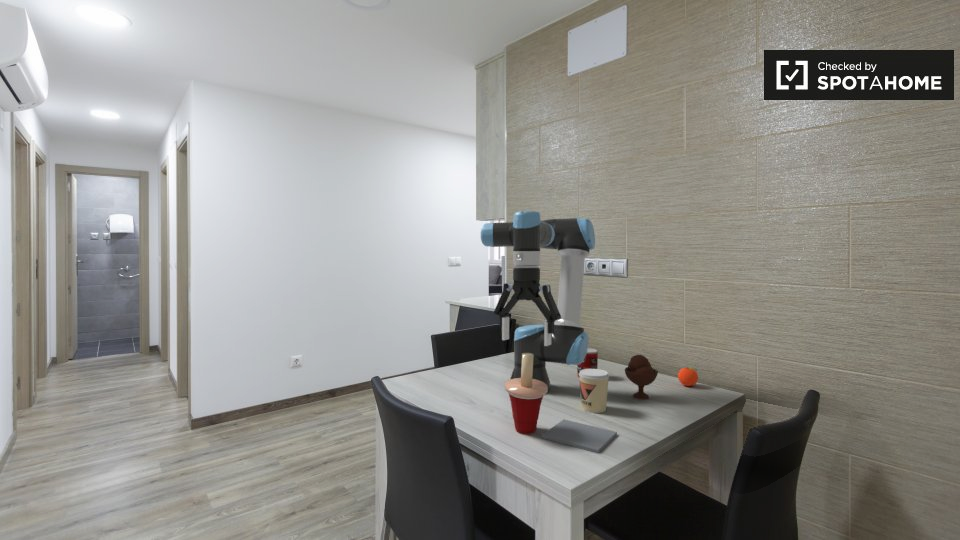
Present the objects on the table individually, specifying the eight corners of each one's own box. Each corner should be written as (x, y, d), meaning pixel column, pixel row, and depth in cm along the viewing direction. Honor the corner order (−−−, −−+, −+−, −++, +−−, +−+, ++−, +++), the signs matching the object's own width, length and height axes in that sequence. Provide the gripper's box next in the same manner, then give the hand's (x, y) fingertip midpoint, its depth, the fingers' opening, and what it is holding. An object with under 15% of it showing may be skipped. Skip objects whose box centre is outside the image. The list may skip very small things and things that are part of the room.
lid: (496, 389, 125) (498, 355, 124) (518, 378, 135) (520, 345, 134) (534, 401, 118) (536, 364, 117) (554, 387, 128) (556, 354, 127)
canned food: (576, 374, 186) (576, 347, 185) (596, 374, 185) (596, 348, 184) (577, 379, 178) (578, 351, 178) (598, 380, 177) (598, 352, 177)
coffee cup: (573, 406, 147) (573, 370, 146) (596, 402, 151) (596, 367, 150) (590, 415, 138) (591, 377, 138) (614, 411, 142) (615, 374, 141)
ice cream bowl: (660, 402, 150) (661, 358, 149) (626, 400, 152) (626, 357, 152) (654, 393, 160) (655, 351, 160) (622, 391, 163) (623, 350, 162)
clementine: (690, 382, 174) (690, 364, 174) (704, 387, 167) (704, 368, 167) (673, 384, 171) (673, 365, 171) (687, 389, 165) (687, 370, 164)
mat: (541, 437, 122) (541, 434, 122) (563, 421, 133) (563, 419, 133) (598, 453, 112) (598, 450, 112) (616, 434, 124) (616, 431, 124)
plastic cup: (518, 441, 120) (518, 396, 119) (500, 426, 130) (500, 385, 129) (552, 434, 124) (553, 391, 124) (533, 421, 134) (533, 381, 134)
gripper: (482, 266, 129) (482, 339, 130) (561, 268, 115) (560, 350, 115) (496, 265, 135) (496, 335, 136) (573, 267, 121) (572, 345, 121)
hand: (526, 342), depth 126 cm, fingers open, 13 cm apart
